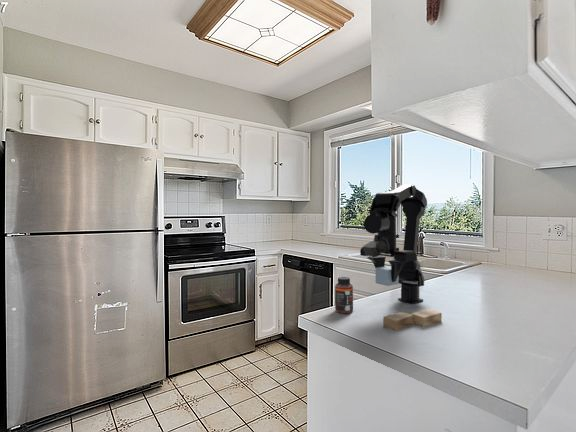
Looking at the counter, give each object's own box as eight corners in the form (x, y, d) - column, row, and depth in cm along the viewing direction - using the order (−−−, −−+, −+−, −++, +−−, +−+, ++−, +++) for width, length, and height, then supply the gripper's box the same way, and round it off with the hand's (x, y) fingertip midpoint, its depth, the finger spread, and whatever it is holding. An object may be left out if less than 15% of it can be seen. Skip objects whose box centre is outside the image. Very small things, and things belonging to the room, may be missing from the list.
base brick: (401, 321, 101) (401, 311, 101) (413, 325, 98) (413, 315, 98) (383, 326, 97) (383, 316, 97) (395, 331, 93) (395, 320, 93)
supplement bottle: (353, 314, 108) (352, 280, 107) (334, 313, 109) (334, 279, 108) (353, 309, 113) (352, 276, 113) (335, 308, 115) (335, 275, 114)
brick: (429, 318, 103) (429, 308, 103) (441, 322, 100) (441, 312, 99) (411, 323, 100) (411, 313, 99) (423, 327, 96) (423, 317, 96)
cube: (386, 281, 109) (386, 266, 109) (398, 284, 105) (398, 268, 105) (375, 283, 107) (375, 267, 107) (387, 286, 103) (387, 270, 102)
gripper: (347, 231, 109) (348, 278, 110) (392, 234, 94) (393, 289, 94) (372, 230, 115) (372, 274, 116) (418, 232, 99) (418, 284, 100)
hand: (387, 280), depth 106 cm, fingers closed on cube, 5 cm apart
